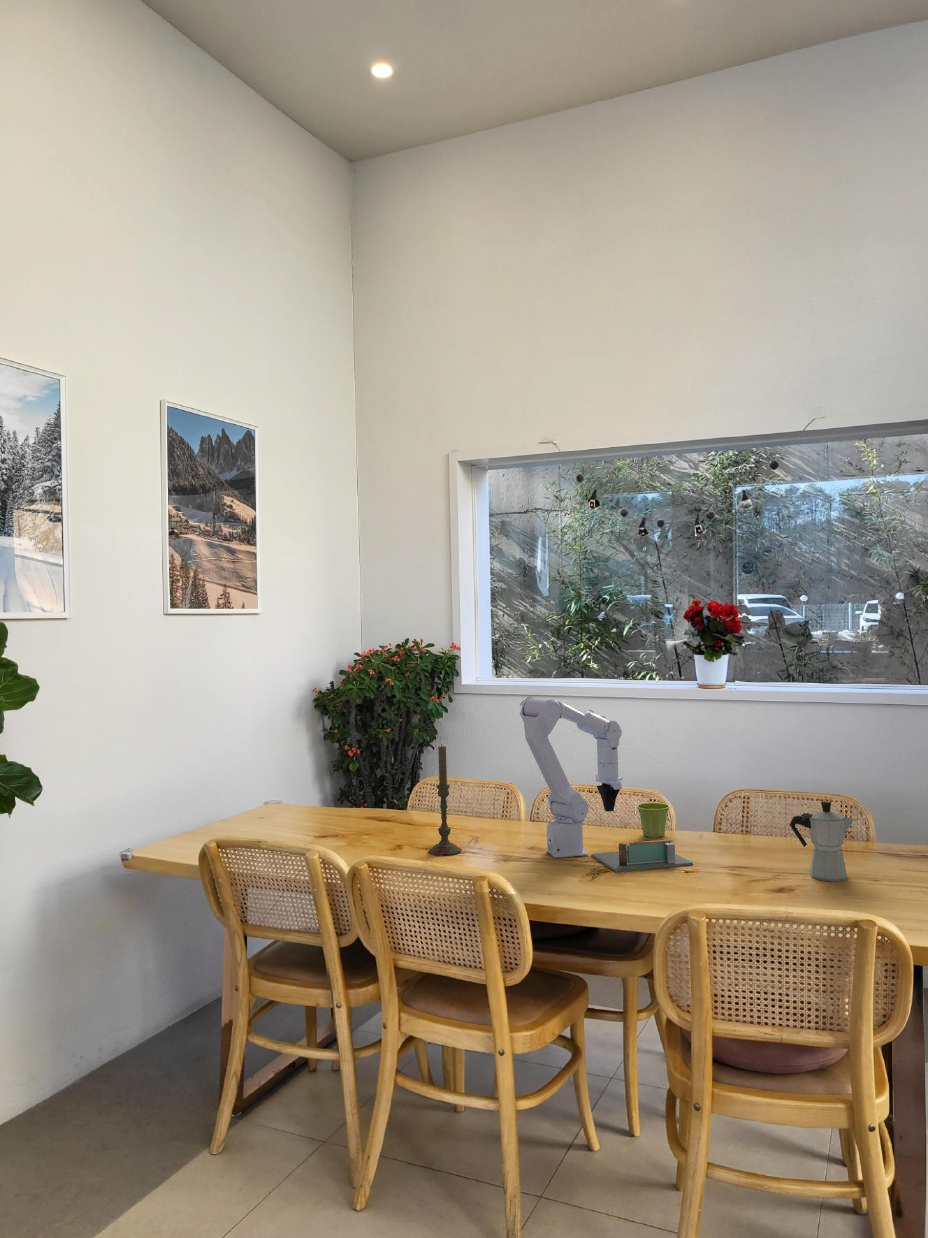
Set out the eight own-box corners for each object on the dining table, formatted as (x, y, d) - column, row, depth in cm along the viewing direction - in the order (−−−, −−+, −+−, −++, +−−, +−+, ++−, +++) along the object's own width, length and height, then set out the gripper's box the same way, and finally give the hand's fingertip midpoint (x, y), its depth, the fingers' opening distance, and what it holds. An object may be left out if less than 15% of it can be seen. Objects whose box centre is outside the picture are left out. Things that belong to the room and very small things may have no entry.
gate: (629, 863, 238) (628, 843, 238) (627, 862, 239) (626, 842, 239) (673, 859, 240) (672, 840, 240) (671, 858, 241) (670, 839, 241)
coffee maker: (853, 872, 228) (851, 798, 228) (860, 882, 219) (857, 805, 219) (788, 870, 231) (786, 797, 231) (793, 880, 222) (790, 804, 222)
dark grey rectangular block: (668, 866, 238) (667, 845, 238) (664, 864, 240) (664, 843, 240) (675, 865, 238) (674, 844, 238) (671, 864, 240) (671, 842, 240)
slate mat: (615, 872, 234) (615, 869, 234) (591, 856, 250) (591, 853, 250) (692, 865, 239) (692, 862, 239) (664, 849, 255) (664, 847, 255)
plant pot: (670, 839, 267) (669, 809, 267) (637, 839, 269) (636, 808, 269) (670, 832, 276) (669, 802, 276) (637, 831, 278) (636, 802, 278)
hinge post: (621, 868, 237) (620, 845, 237) (618, 866, 239) (617, 843, 239) (628, 868, 237) (627, 844, 237) (625, 866, 239) (624, 842, 239)
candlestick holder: (423, 855, 257) (420, 745, 257) (435, 847, 265) (433, 741, 265) (454, 857, 254) (451, 746, 254) (466, 849, 262) (463, 742, 262)
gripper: (631, 765, 257) (632, 814, 257) (611, 758, 271) (612, 805, 271) (607, 767, 255) (608, 816, 255) (588, 759, 269) (589, 806, 269)
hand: (609, 811), depth 263 cm, fingers closed
